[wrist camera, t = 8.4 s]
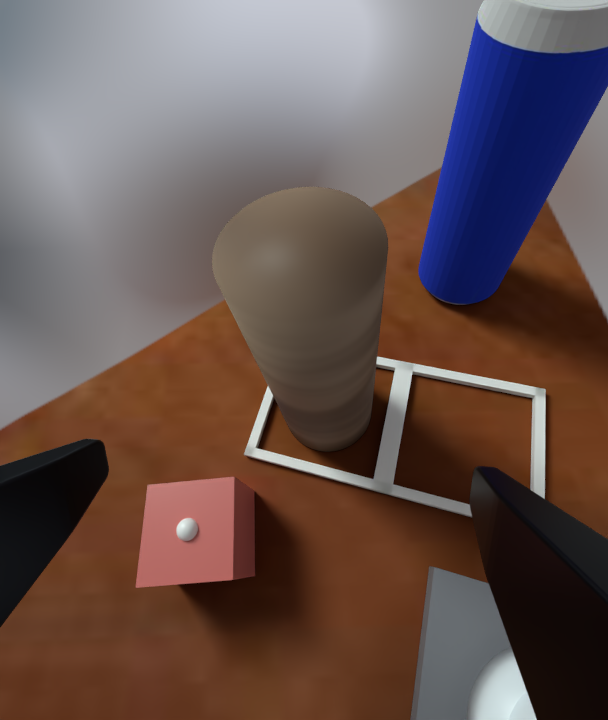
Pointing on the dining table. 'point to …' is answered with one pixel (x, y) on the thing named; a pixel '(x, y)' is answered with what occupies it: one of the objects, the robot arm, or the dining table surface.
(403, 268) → the dining table surface
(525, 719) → the dome
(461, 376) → the white rectangular frame
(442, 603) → the dome base
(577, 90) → the beverage can
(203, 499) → the red die
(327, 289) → the brown lumpy cylinder
